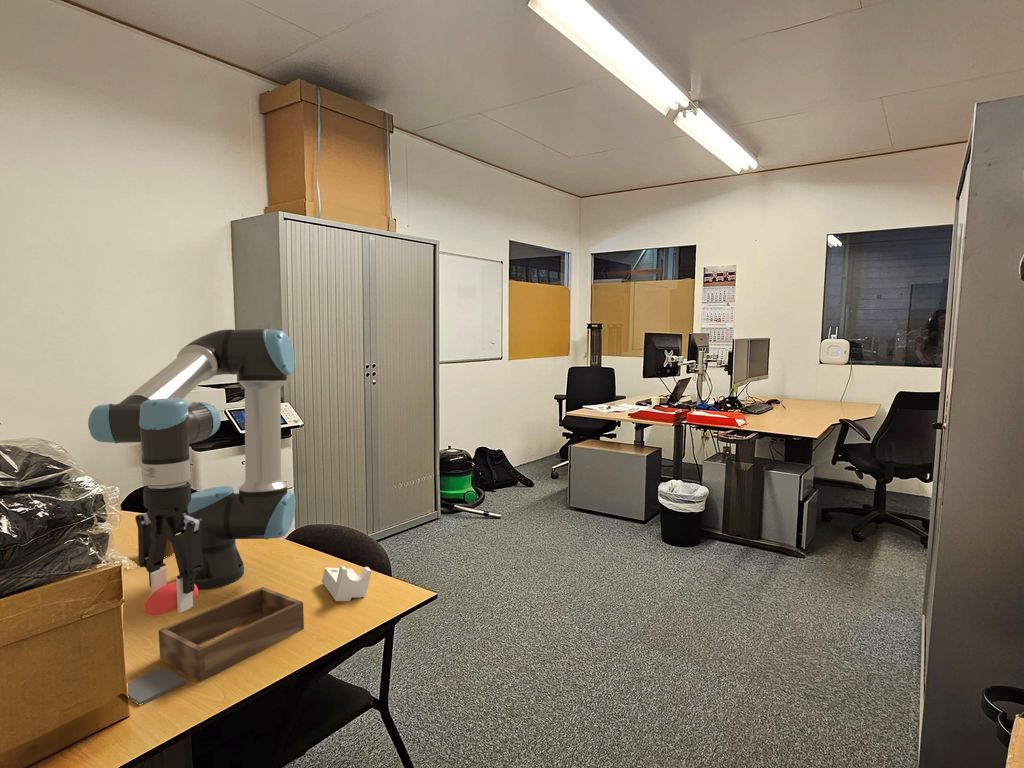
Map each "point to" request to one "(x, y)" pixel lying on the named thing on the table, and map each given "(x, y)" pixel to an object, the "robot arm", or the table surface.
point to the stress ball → (164, 600)
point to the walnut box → (236, 646)
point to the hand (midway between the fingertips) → (172, 606)
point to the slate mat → (153, 685)
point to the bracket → (346, 582)
